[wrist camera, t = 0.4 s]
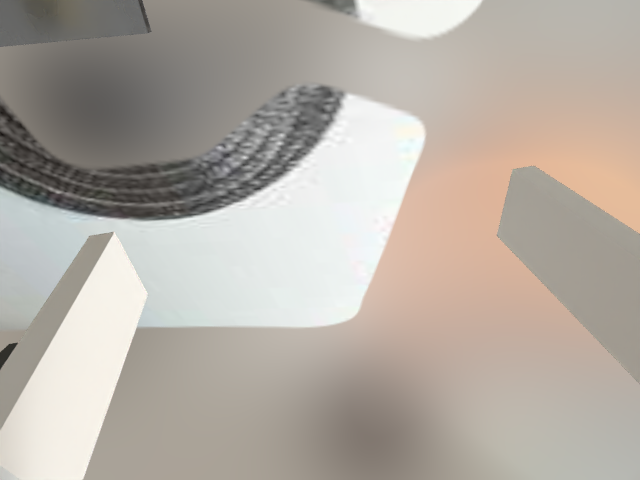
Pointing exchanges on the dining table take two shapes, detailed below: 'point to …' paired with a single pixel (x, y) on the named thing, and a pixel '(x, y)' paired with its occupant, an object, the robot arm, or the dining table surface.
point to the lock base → (69, 20)
